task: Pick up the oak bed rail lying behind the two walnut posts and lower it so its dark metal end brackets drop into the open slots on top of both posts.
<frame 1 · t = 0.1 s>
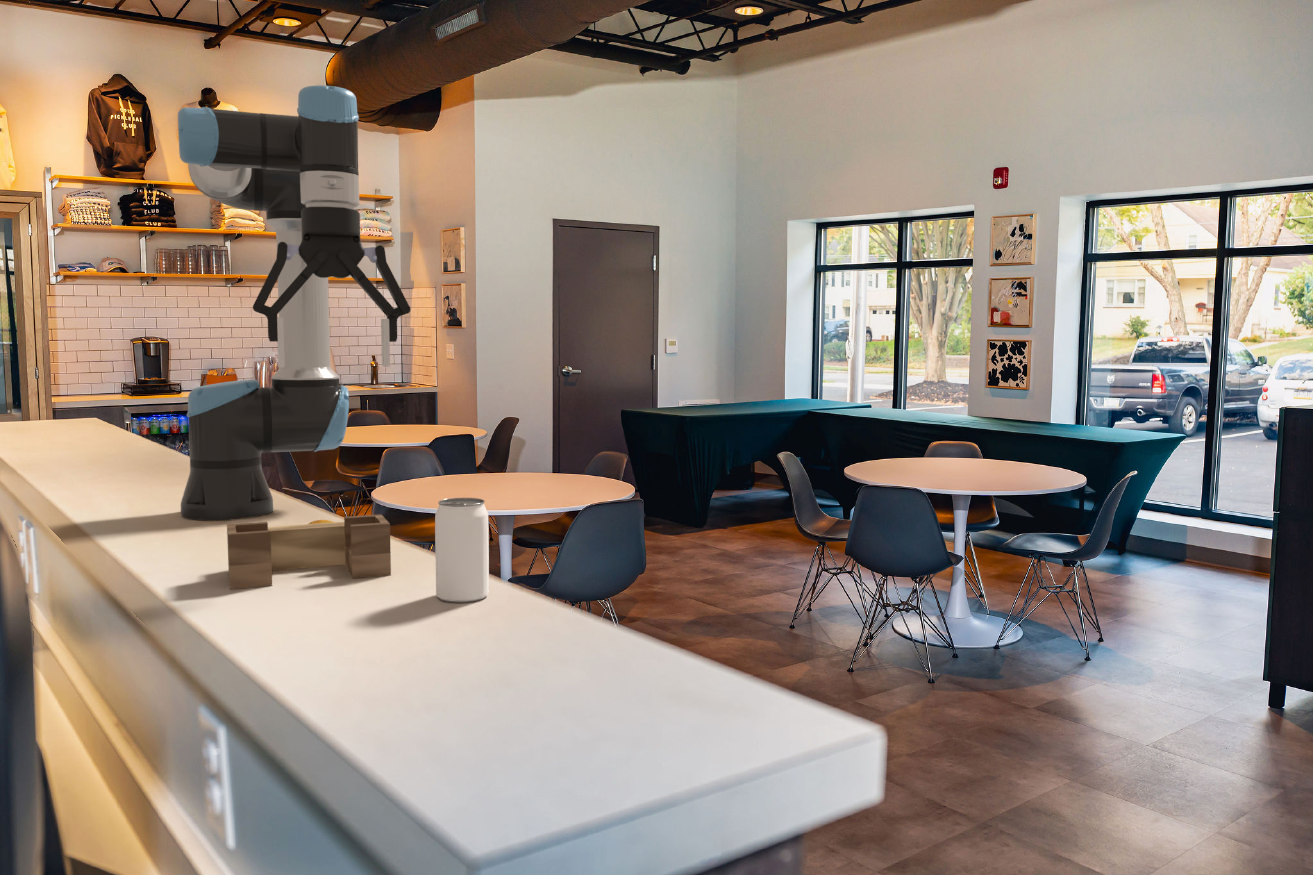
hand: (334, 366, 139), 28 cm above the worktop, fingers open, 13 cm apart
rail: (305, 565, 143), on the worktop
bread roll: (327, 547, 156), on the worktop
post b: (367, 570, 140), on the worktop
can: (462, 598, 127), on the worktop
post a: (250, 580, 134), on the worktop
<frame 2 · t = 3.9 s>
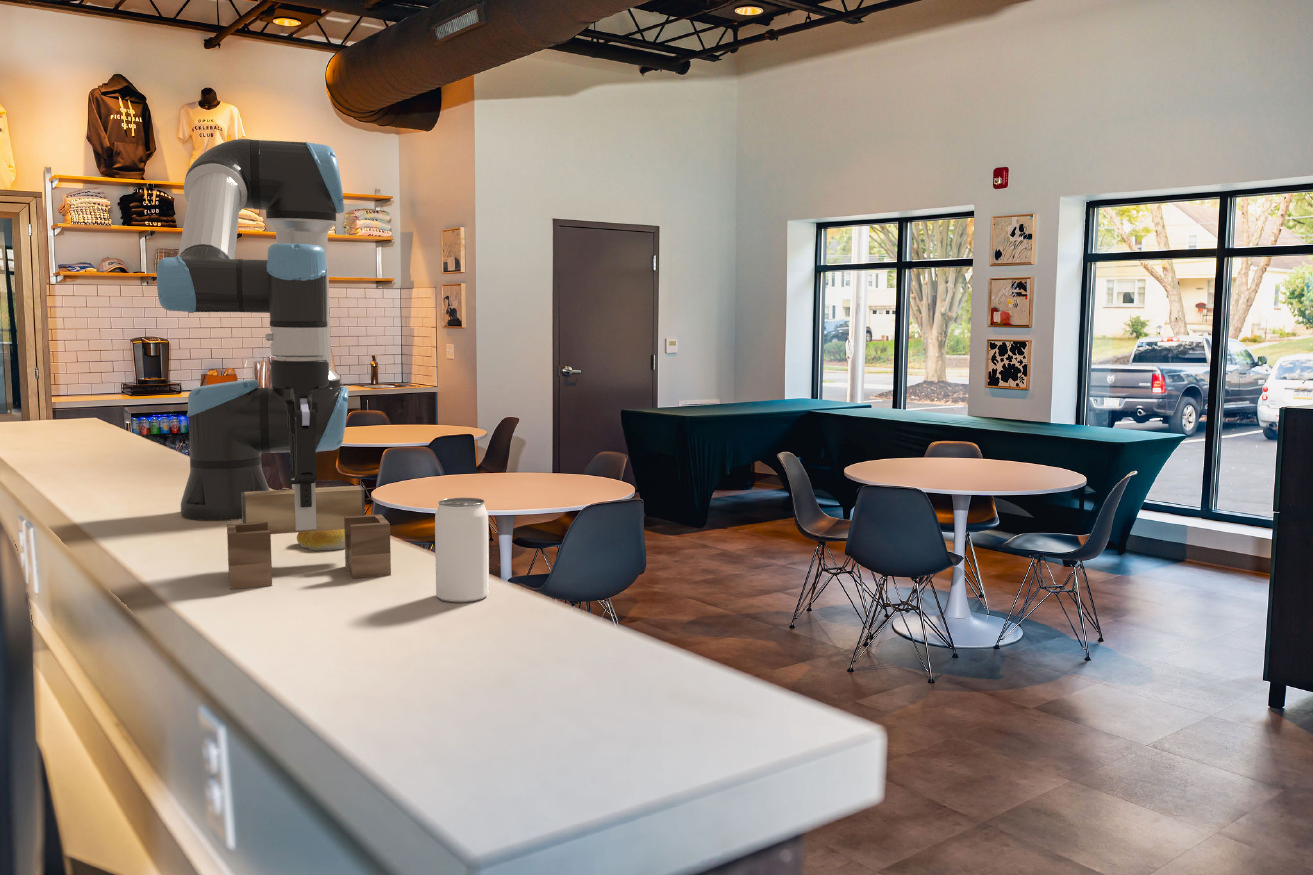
hand: (304, 525, 143), 5 cm above the worktop, fingers closed on rail, 3 cm apart
rail: (304, 529, 143), point 5 cm above the worktop, touching gripper
everything else where it was.
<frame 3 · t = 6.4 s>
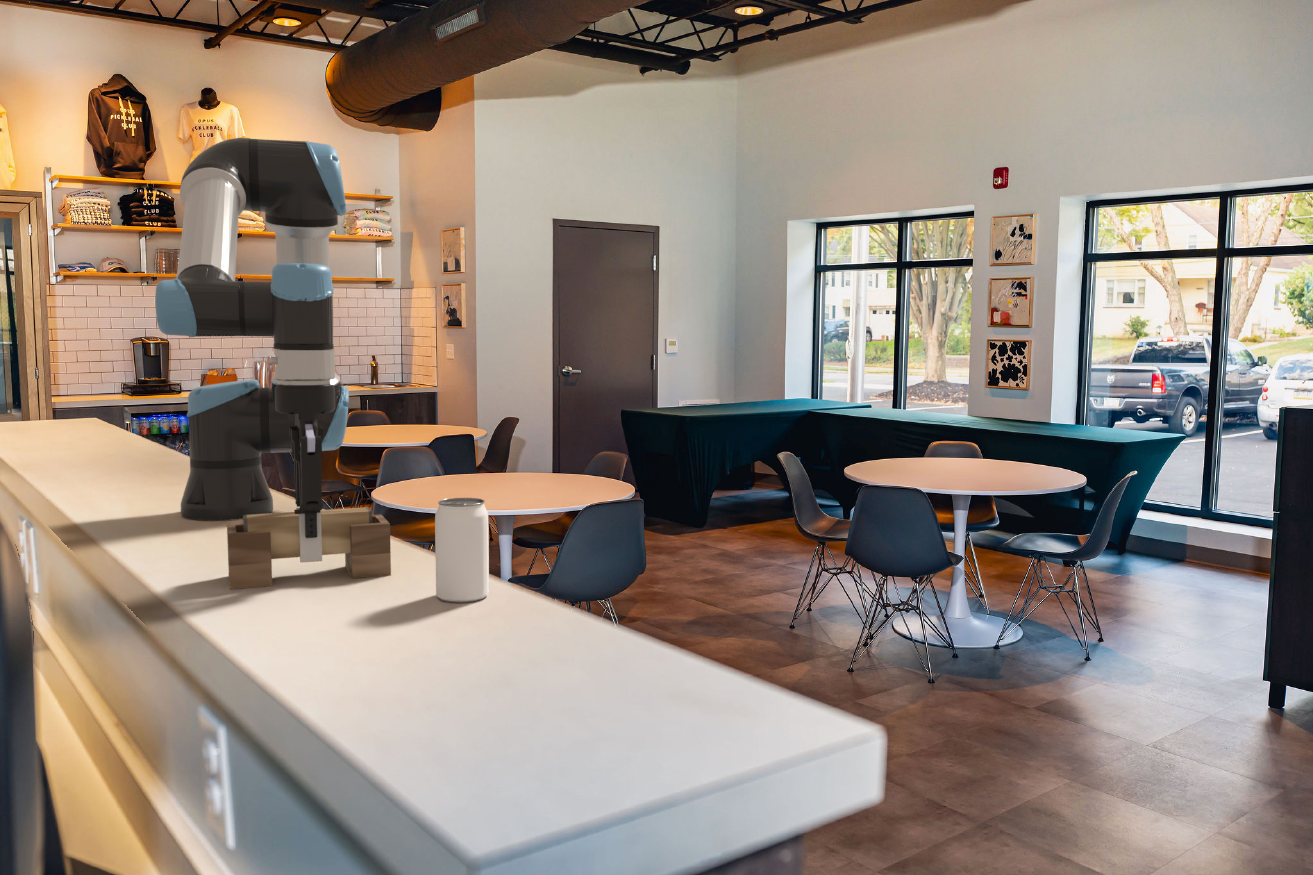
hand: (309, 557, 137), 2 cm above the worktop, fingers closed on rail, 3 cm apart
rail: (309, 553, 137), point 3 cm above the worktop, touching gripper, post a, post b
everything else where it was.
when the fingers open (2 cm above the worktop, at t = 7.1 s): rail stays where it is, resting on post a, post b.
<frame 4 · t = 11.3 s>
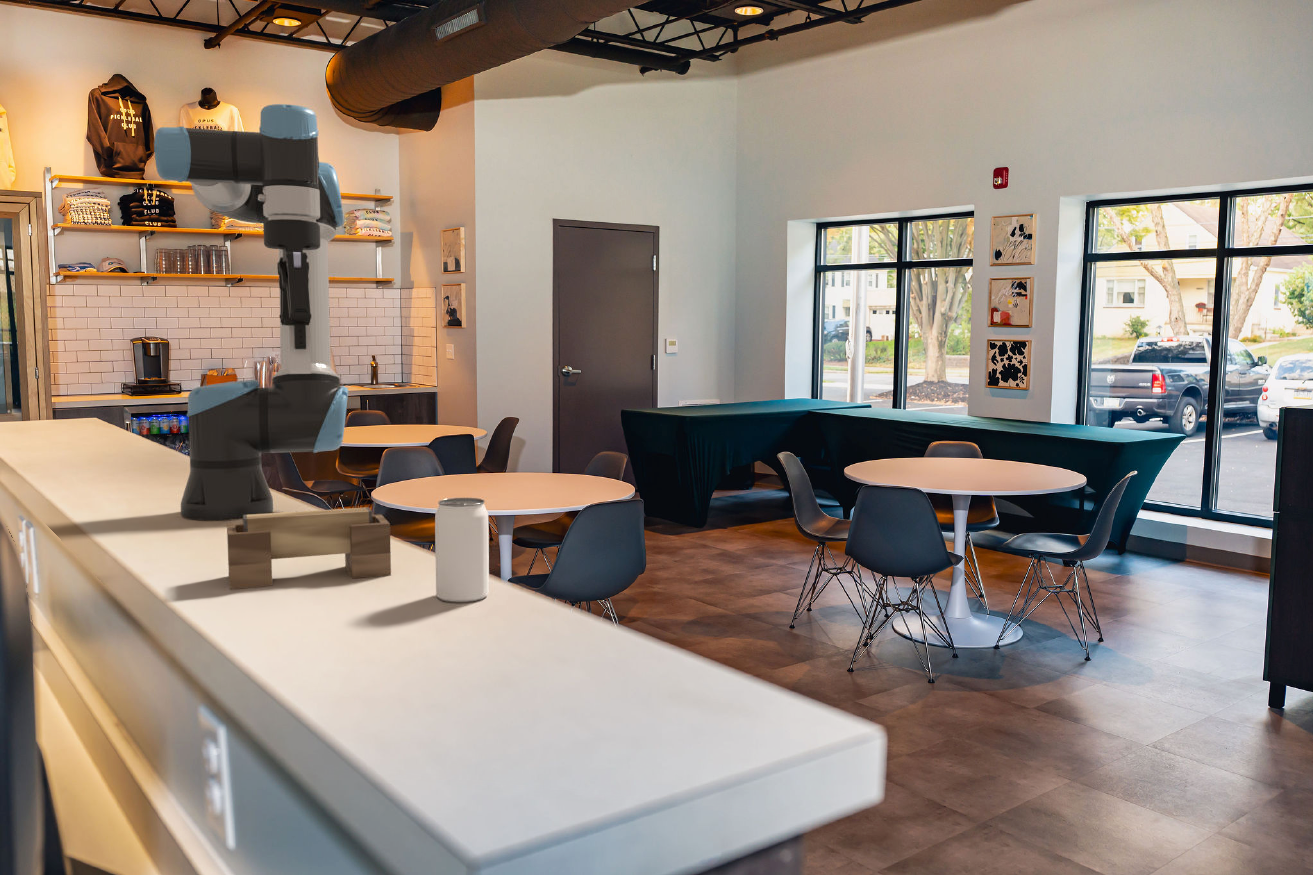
hand: (296, 371, 146), 27 cm above the worktop, fingers open, 13 cm apart
rail: (309, 553, 137), point 3 cm above the worktop, touching post a, post b
everything else where it was.
at the end: rail 0.1 cm from the target spot, point 3.0 cm above the worktop; rail tilted 0°; the gripper is holding nothing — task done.
